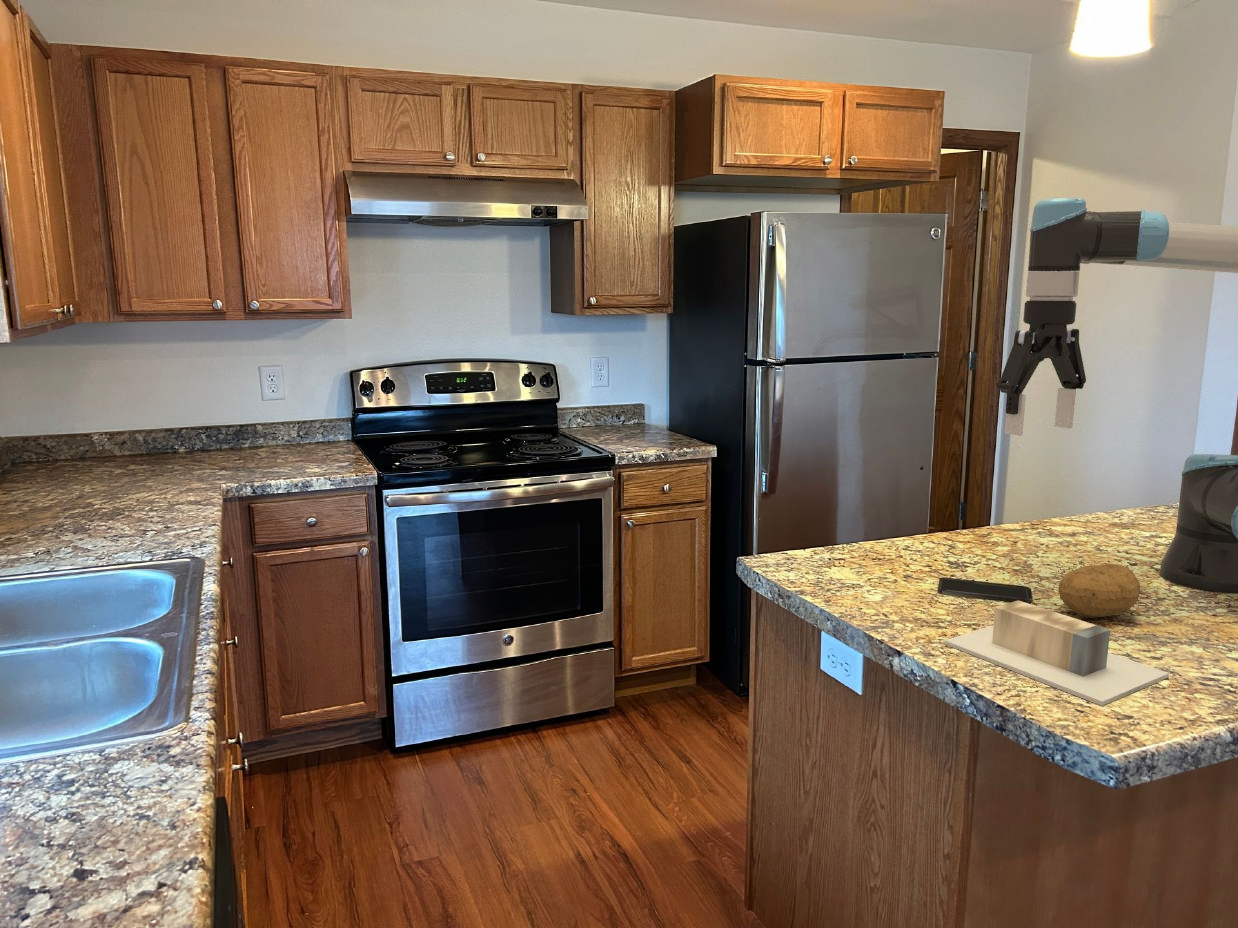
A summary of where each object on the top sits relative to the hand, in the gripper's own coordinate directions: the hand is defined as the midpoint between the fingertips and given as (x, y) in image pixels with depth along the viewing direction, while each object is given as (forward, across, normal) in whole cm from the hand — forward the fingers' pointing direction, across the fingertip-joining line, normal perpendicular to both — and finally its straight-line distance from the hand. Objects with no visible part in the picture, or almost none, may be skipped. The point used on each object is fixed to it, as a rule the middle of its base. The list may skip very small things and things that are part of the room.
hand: (1038, 431), depth 150 cm
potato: (+29, -2, +11) cm, 31 cm away
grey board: (+29, +20, +18) cm, 40 cm away
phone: (+29, +3, -6) cm, 30 cm away
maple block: (+25, +20, +10) cm, 34 cm away
